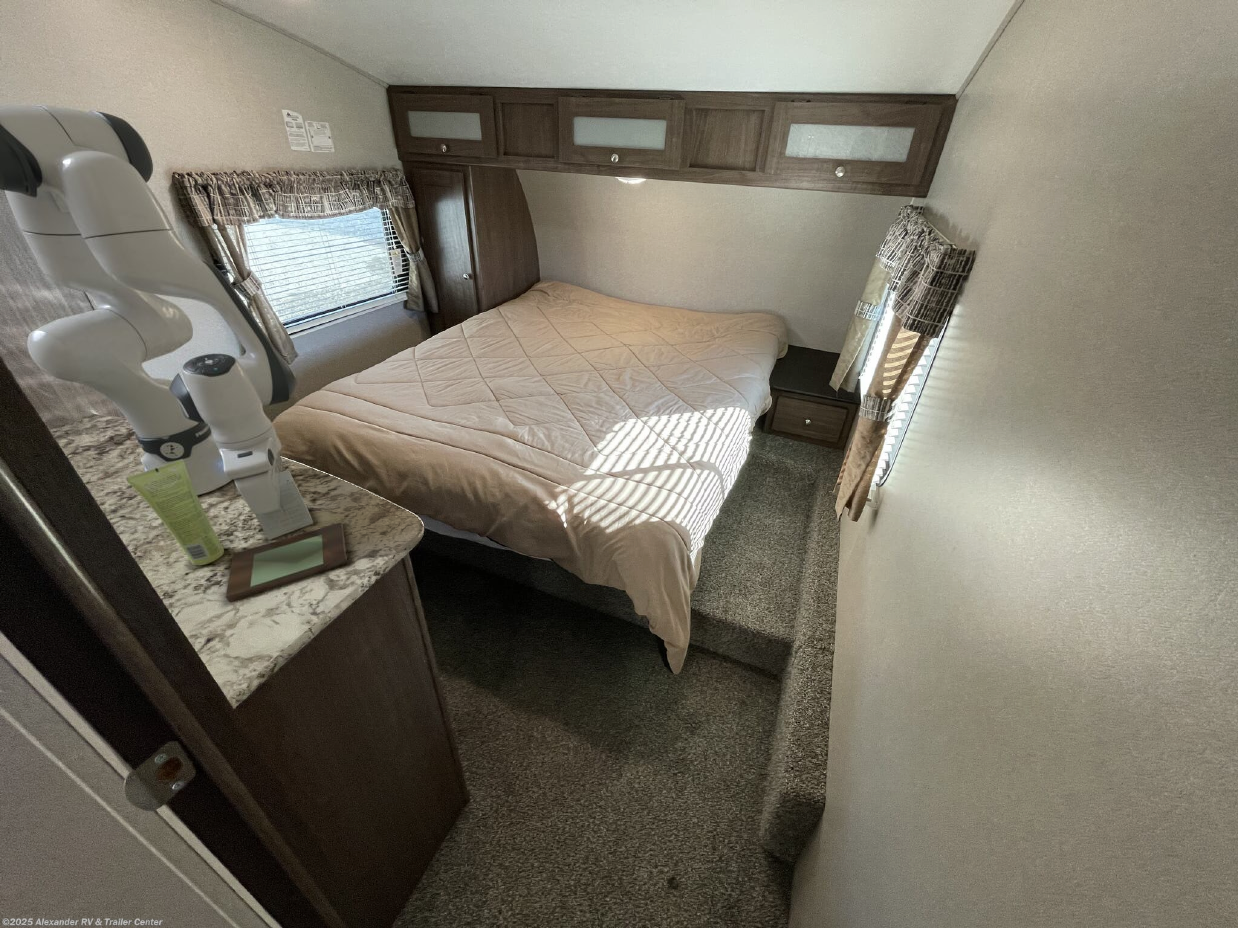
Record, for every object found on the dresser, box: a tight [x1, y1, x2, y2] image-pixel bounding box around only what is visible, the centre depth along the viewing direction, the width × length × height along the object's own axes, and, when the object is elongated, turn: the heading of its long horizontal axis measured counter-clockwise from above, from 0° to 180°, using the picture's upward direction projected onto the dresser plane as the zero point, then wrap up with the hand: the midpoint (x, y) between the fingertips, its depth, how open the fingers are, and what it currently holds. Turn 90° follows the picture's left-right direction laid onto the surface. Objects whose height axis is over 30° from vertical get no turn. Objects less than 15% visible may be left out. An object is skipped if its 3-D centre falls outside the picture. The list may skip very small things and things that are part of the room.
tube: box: [125, 459, 225, 566], centre depth 85 cm, size 6×5×20 cm
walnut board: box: [225, 522, 348, 603], centre depth 89 cm, size 12×18×1 cm, turn 119°
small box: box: [253, 469, 314, 541], centre depth 95 cm, size 8×6×10 cm
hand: (280, 506), depth 95 cm, fingers closed on small box, 6 cm apart
